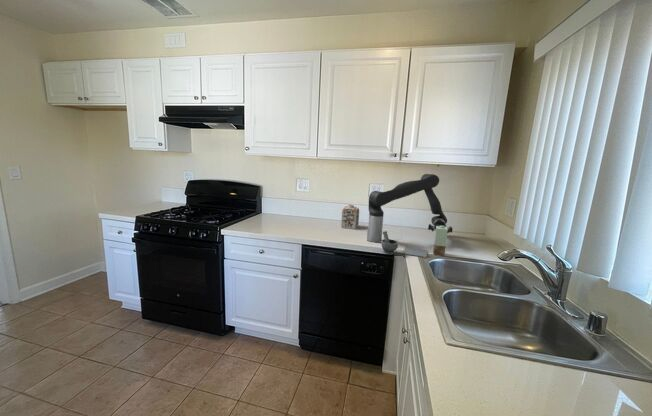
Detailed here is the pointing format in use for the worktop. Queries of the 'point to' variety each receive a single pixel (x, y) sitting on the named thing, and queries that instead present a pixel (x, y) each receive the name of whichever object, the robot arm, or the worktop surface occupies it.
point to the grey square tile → (415, 252)
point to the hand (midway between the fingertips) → (440, 230)
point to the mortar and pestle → (388, 244)
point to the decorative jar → (350, 217)
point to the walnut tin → (439, 250)
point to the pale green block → (440, 236)
